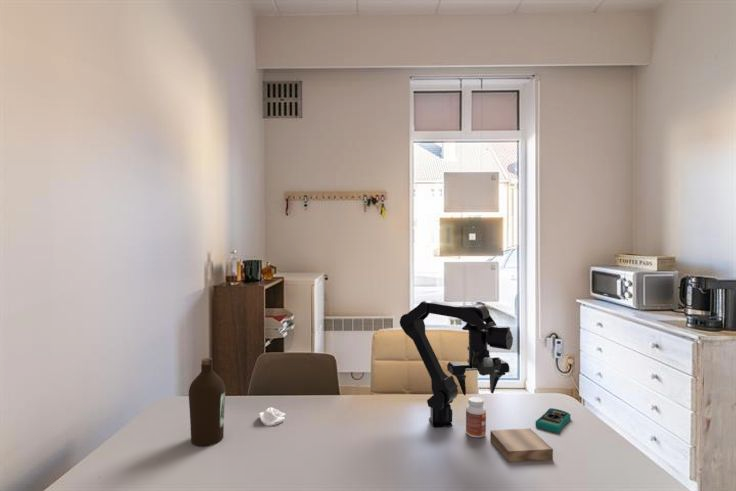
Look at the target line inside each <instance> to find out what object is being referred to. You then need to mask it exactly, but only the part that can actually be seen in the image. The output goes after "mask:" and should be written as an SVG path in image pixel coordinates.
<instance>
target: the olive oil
mask: <svg viewBox="0 0 736 491" xmlns="http://www.w3.org/2000/svg"><path fill="white" fill-rule="evenodd" d="M200 366H201V367H200V368H201V369H200V370H201V371H200V373H199V374H198V375H197V376H196V377H195V378H194V379H193V380H192V381H191V383H190V384H189V385H190V386H189V388H188V406H189V420H190V442H191V444H192V445H193V446H195V447H209V446H212V445H216V444H218V443H220V442H222V440H223V439H224V431H225V430H224V429H225V405H226V385H225V383H224V379H222V378H221V377H220V375H219V374H217V373H216V372H215V371H214V370H213V369H214V364H213V358H212V357H205V358H202V359H201V364H200Z"/></svg>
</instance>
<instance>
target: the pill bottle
mask: <svg viewBox="0 0 736 491" xmlns="http://www.w3.org/2000/svg"><path fill="white" fill-rule="evenodd" d="M484 401H485V400H484V399H483V398H482V397H478V396H471V397H469V398H468V404H467V406H466V407H465V432H466V434H467V435H468V436H469V437H471V438H484V437H485V436H486V435H487V434H486V433H487V409H486V407H485V406H484V404H485V402H484Z"/></svg>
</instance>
